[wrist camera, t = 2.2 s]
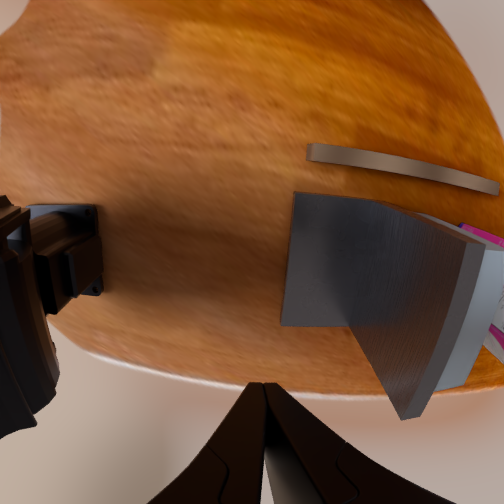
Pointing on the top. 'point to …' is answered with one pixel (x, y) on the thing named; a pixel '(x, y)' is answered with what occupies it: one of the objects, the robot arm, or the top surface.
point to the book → (474, 312)
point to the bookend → (382, 286)
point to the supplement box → (500, 332)
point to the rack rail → (398, 166)
